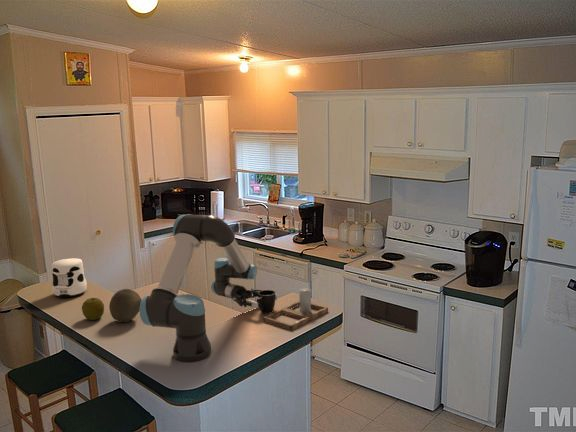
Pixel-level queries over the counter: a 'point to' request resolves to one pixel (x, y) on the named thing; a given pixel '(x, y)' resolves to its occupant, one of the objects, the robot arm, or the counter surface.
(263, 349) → the counter surface
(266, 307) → the mug
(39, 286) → the counter surface
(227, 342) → the counter surface
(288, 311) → the frame
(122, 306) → the cantaloupe
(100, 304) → the apple
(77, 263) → the white trooper helmet
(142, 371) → the counter surface
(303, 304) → the grey upright cylinder
